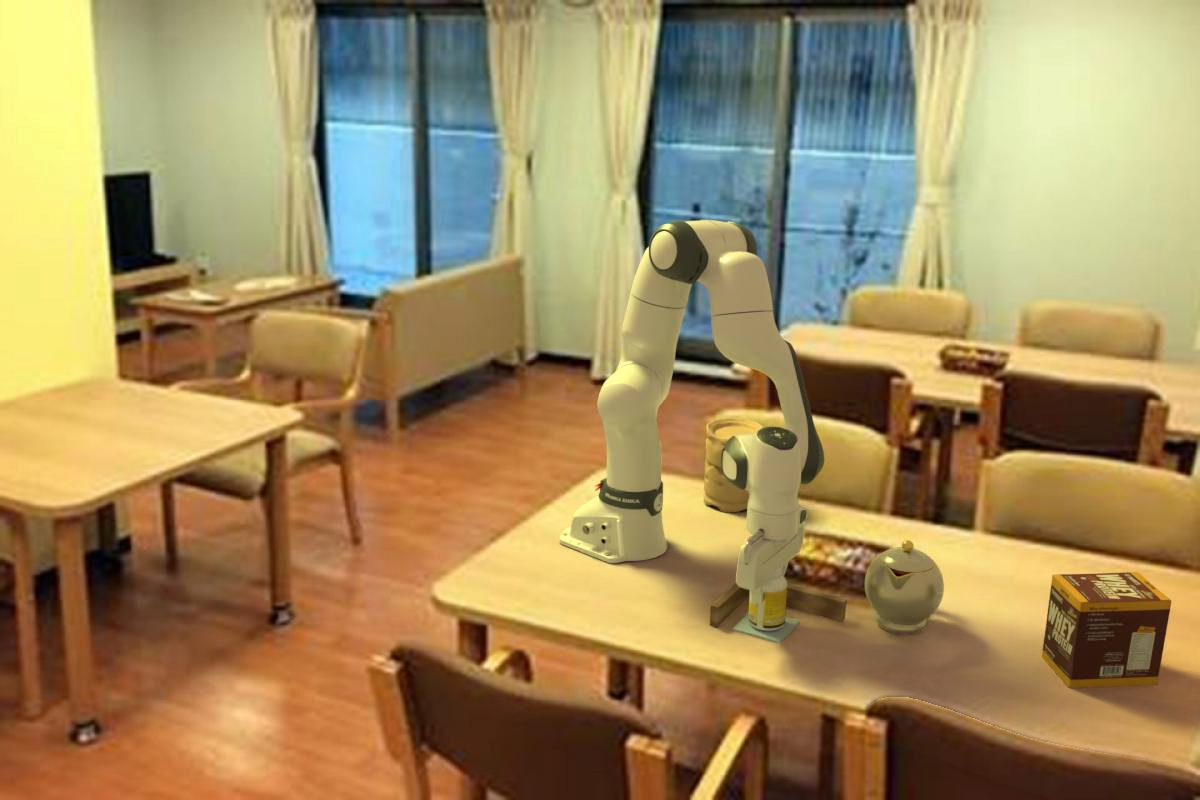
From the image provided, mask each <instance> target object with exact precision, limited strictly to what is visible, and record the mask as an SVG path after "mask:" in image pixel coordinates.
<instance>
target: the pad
mask: <svg viewBox="0 0 1200 800" xmlns="http://www.w3.org/2000/svg"><path fill="white" fill-rule="evenodd" d="M799 624H800V620H798V619H796V618H791V617H788V616H787V617H786V616H785V623H784V626H783V627H782V628H780V629H778V630H773V631H764V630H760V629H757V628H755V627H753V626H752V625H751V624H750V623H749V612H748V613H747V614H746V615H745V616H744V617H743V618H742V619H740V621H739V622H737V624H736V625H735V626H734V627H732V631H733V632H737V633H740V634H745V635H747V636H751V637H755V638H759V639H762V640H765V641H768V642H772V643H776V644H779V645H780V644H782V643H783V641H784V640H785V639H786V638H787V637H788V636H789V635H790V634H791V633H792V631H793V630H795V628H796V627H797V626H798V625H799Z"/></svg>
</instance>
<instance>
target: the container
mask: <svg viewBox="0 0 1200 800" xmlns="http://www.w3.org/2000/svg"><path fill="white" fill-rule="evenodd" d="M705 428H706V430H705V431H706V437H707V438H706V440H705V461H704V480H703V481H704V482H703V483H704V486H703V491H704V494H703V503H704V505H706V506H712V507H713V506H714V507H716V508H718V509H719V510H720V511H721V512H722V513H727V514H729V513H731V514H732V513H736V514H737V513H740V512H742V511H746V510H747V505H748V500H749V492H748V491H747V490H741V489H739V488H738V487H736V486H734V485H733V484H732V483H730V482H729V481H728V480H727V479H726V478H725V477H724V476H723V474H722V468H721V454H722V450H723V448H724V446H725V444H726V442H727V441H728V440H729V439H730V438H731V437H732V436H736V435H740V434H748V433H756V432H757V431H758V430H760V429H762V428H764V426H763V425H762V424H760V423H759V422H757V421H754V420H752V419H748V418H747V419H746V418H741V417H723V418H718V419H717V418H716V419H714V420H712V421H710V422H708V423H706V427H705Z"/></svg>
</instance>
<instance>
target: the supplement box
mask: <svg viewBox="0 0 1200 800" xmlns="http://www.w3.org/2000/svg"><path fill="white" fill-rule="evenodd" d="M1049 591H1050V592H1049V600H1048V607H1047V615H1046V622H1045V629H1044V632H1045V633H1044V638H1043V645H1042V652H1041V657H1042V658H1043V660H1044V661H1045V662H1046V663H1047V664H1048V666H1050V668H1051V669H1052V670H1053V671H1054V672H1055V673H1056V675H1057V676H1058V677H1059V678H1060V679H1061V680H1062V682H1063V683H1065V684H1066V686H1067V687H1068V688H1069V689H1078V688H1079V689H1081V688H1103V687H1104V688H1106V687H1110V688H1111V687H1129V686H1130V687H1134V686H1155V685H1158V684H1159V683H1158V682H1159V677H1160V672H1161V671H1160V669H1161V666H1162V659H1163V652H1164V647H1165V641H1166V636H1167V629H1168V625H1169V624H1168V623H1169V618H1170V613H1171V606H1172V600H1171V599H1170V597H1168V596H1166V595H1165V594H1164V593H1163V592H1162V591H1160V590H1159V589H1158V588H1157V587H1156V586H1155V585H1153V584H1152V583H1151V582H1150V581H1149V580H1148V579H1146V577H1144V575H1142V574H1141V573H1140V572H1138V571H1131V572H1130V571H1129V572H1107V573H1104V572H1103V573H1069V574H1068V573H1066V574H1065V573H1064V574H1063V573H1061V574H1059V573H1058V574H1052V576H1051V585H1050V590H1049Z"/></svg>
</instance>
